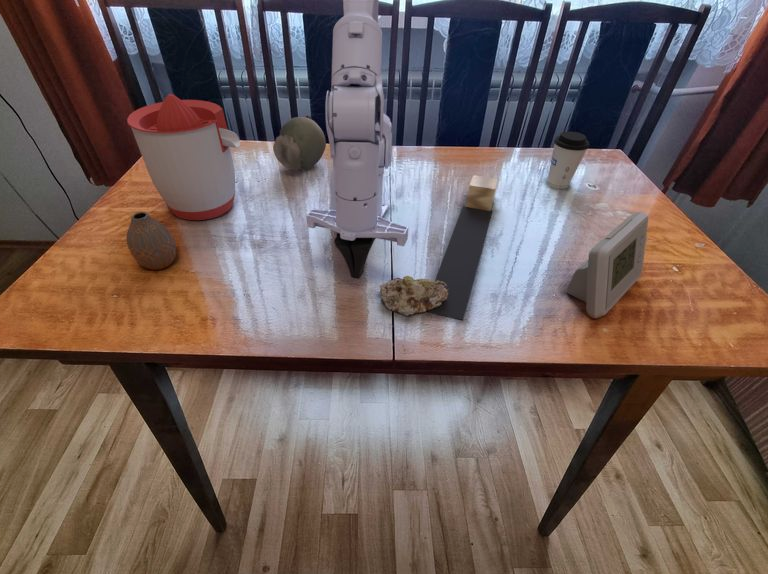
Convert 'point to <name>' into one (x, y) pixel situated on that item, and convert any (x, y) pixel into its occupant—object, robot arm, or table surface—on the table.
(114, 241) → the table surface
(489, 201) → the maple block
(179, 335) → the table surface
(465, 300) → the line stripe
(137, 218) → the vase
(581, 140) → the coffee cup
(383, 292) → the mineral rock
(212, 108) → the citrus juicer
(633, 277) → the digital clock
